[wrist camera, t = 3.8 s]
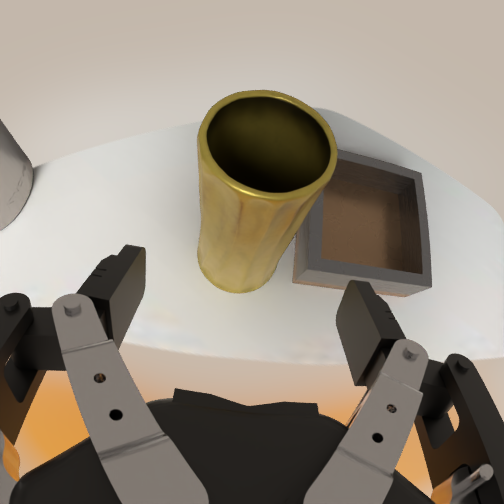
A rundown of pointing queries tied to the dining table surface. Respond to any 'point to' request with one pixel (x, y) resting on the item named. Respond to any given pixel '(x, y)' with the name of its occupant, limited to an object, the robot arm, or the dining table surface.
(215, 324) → the dining table surface
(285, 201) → the vase
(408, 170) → the square grey tray
